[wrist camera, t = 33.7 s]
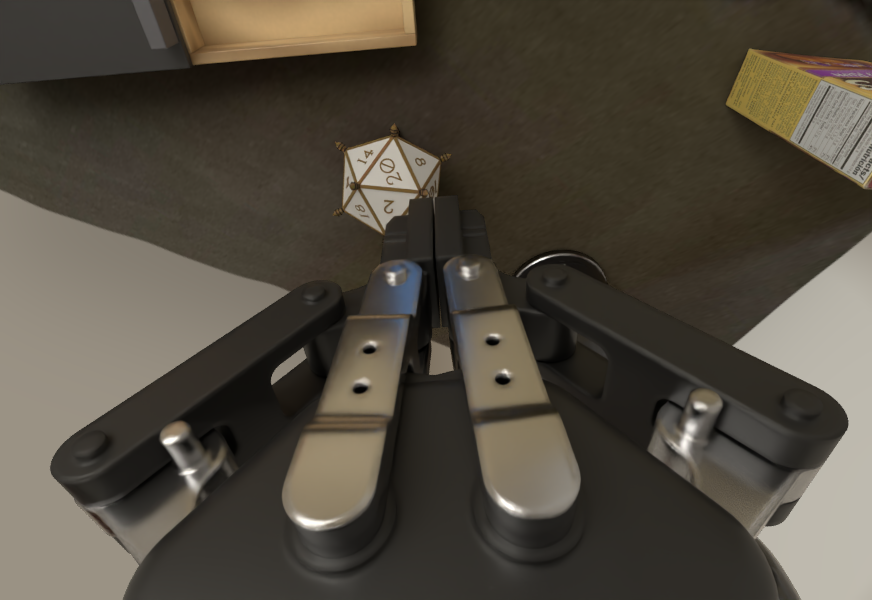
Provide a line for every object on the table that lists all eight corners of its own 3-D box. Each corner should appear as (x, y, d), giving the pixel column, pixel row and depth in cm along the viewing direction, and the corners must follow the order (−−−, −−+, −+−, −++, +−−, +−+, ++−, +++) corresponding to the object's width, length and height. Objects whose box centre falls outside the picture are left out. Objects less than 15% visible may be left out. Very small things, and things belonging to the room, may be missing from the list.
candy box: (868, 53, 35) (1098, 126, 23) (832, 115, 37) (1022, 209, 26) (748, 41, 34) (920, 110, 22) (721, 105, 37) (861, 196, 25)
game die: (373, 141, 42) (288, 133, 34) (460, 115, 38) (388, 97, 29) (393, 244, 43) (315, 260, 35) (479, 229, 39) (415, 244, 31)
